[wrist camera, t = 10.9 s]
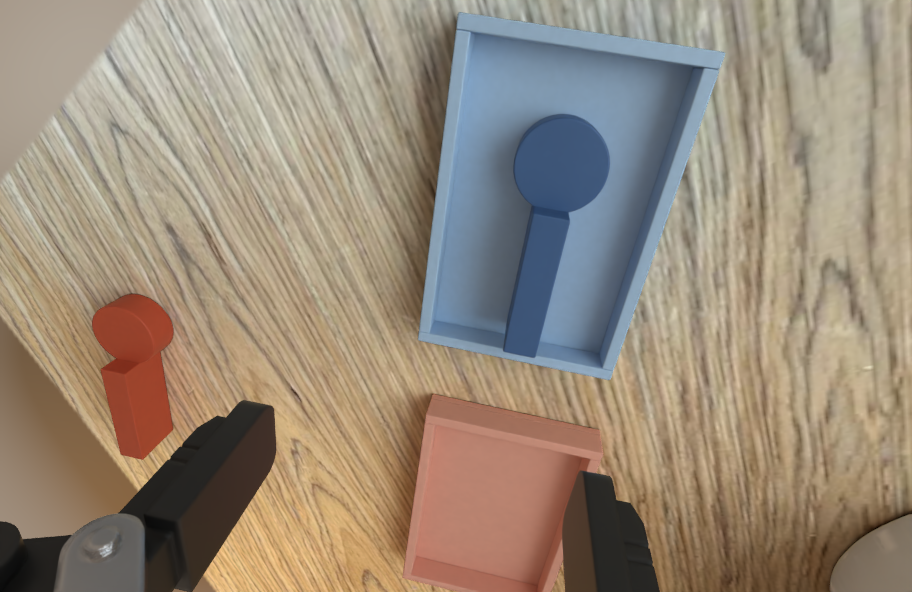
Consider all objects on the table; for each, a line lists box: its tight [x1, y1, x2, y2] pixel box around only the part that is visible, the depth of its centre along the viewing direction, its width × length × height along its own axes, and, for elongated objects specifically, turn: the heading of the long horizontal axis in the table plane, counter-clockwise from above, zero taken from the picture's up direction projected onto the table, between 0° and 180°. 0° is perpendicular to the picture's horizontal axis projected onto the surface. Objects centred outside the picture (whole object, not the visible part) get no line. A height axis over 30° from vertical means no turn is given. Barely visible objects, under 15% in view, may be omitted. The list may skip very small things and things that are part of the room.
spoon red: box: [92, 294, 173, 460], centre depth 31 cm, size 11×4×3 cm, turn 172°
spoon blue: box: [503, 114, 610, 358], centre depth 22 cm, size 11×4×3 cm, turn 172°
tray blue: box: [418, 12, 725, 380], centre depth 22 cm, size 15×10×2 cm
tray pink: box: [403, 394, 603, 592], centre depth 31 cm, size 15×10×2 cm
